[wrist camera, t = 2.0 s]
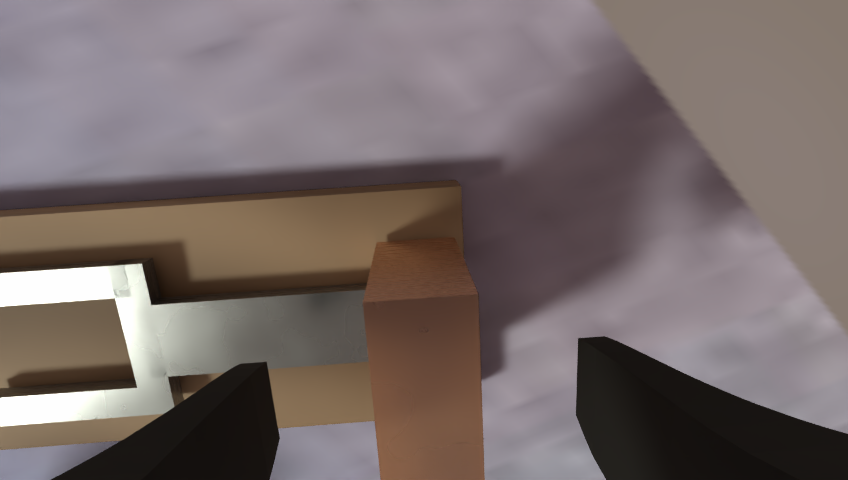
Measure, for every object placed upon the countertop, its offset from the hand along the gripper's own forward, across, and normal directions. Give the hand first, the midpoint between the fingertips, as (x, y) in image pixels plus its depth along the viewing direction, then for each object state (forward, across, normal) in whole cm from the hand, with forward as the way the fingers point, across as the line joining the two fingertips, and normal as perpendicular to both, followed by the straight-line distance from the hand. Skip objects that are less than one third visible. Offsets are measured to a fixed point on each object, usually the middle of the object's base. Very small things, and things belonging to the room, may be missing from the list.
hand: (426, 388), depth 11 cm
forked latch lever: (+4, +6, 0) cm, 8 cm away
